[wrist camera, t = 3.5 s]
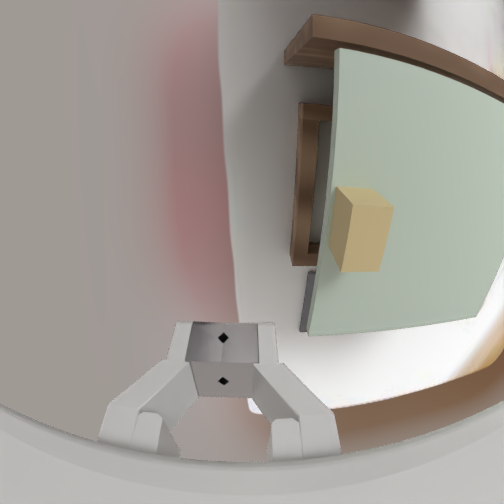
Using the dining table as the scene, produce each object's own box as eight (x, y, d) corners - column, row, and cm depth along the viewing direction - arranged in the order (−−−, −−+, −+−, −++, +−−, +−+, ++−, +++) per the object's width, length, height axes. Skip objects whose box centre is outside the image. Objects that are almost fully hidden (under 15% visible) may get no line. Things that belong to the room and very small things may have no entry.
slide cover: (334, 50, 13) (358, 38, 9) (526, 119, 13) (558, 130, 10) (306, 327, 23) (314, 364, 20) (471, 311, 23) (489, 335, 20)
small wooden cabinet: (284, 50, 22) (312, 14, 11) (530, 125, 23) (591, 151, 11) (277, 254, 33) (289, 336, 22) (500, 254, 34) (545, 300, 23)
